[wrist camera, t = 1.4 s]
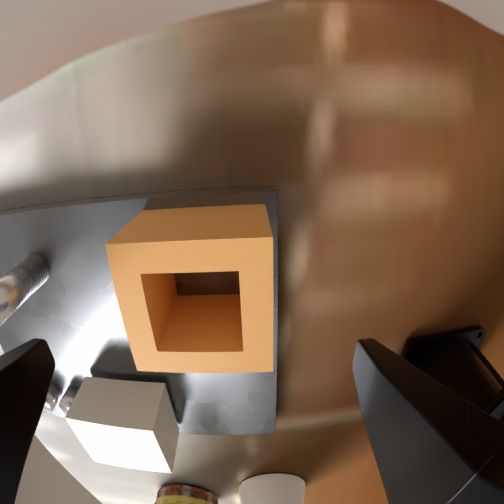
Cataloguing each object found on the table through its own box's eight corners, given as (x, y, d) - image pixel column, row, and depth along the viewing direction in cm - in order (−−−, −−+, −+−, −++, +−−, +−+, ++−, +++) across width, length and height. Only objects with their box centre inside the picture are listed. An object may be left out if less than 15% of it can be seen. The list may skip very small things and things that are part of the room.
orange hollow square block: (264, 204, 13) (273, 236, 9) (266, 312, 15) (272, 371, 11) (142, 210, 13) (105, 244, 9) (159, 314, 15) (137, 370, 11)
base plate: (274, 186, 14) (296, 230, 8) (274, 419, 19) (281, 498, 13) (-29, 216, 14) (-98, 254, 8) (42, 400, 19) (12, 457, 13)
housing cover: (165, 383, 16) (152, 430, 13) (179, 430, 17) (172, 473, 14) (85, 376, 16) (64, 417, 13) (108, 422, 17) (94, 461, 14)
